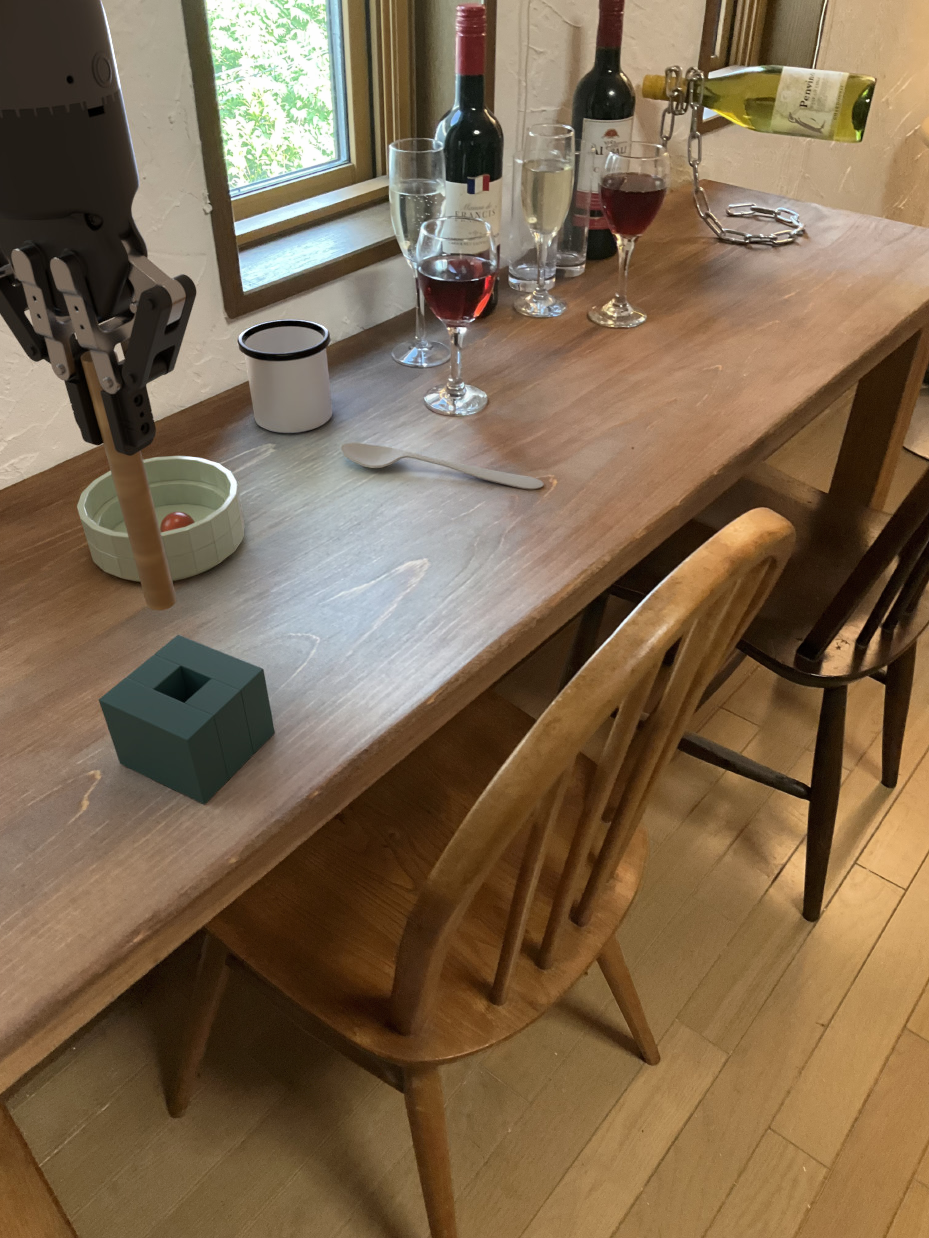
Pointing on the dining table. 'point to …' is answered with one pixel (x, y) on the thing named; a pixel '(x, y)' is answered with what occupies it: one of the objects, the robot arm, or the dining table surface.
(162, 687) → the holder
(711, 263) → the dining table surface
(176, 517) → the ball
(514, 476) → the spoon
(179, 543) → the bowl
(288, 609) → the dining table surface
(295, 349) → the mug
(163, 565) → the stick
